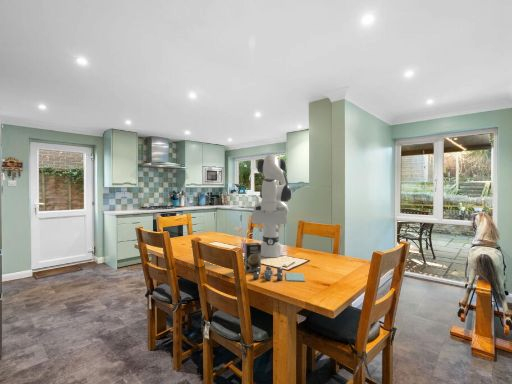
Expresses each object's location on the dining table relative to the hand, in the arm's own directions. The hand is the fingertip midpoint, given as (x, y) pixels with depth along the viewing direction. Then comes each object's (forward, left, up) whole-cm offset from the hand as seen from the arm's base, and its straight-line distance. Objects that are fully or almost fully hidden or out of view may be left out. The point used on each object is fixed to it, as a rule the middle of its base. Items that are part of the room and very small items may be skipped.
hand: (268, 231), depth 148 cm
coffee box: (-10, -10, -26) cm, 29 cm away
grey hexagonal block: (0, 0, -26) cm, 26 cm away
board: (0, +15, -25) cm, 30 cm away
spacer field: (0, 0, -25) cm, 25 cm away
